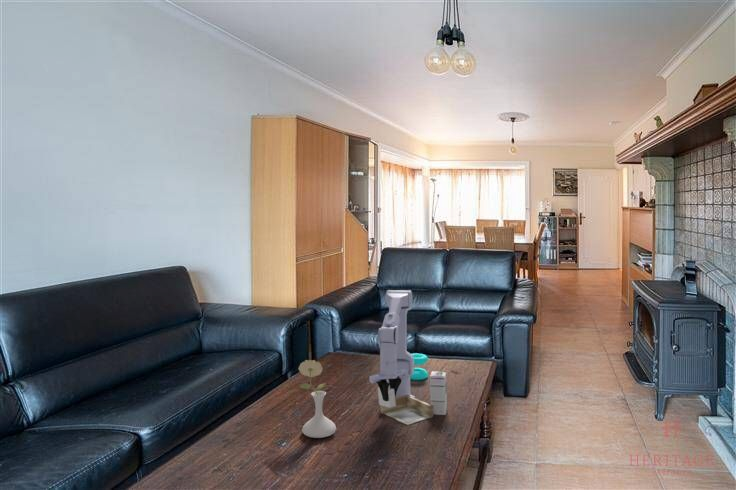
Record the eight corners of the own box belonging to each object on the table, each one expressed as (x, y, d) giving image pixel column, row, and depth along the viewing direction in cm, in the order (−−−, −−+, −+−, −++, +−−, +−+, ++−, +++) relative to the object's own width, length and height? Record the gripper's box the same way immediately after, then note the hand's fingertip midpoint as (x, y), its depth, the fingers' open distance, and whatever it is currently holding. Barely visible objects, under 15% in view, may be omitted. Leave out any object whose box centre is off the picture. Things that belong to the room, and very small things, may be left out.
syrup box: (446, 415, 177) (446, 376, 177) (429, 414, 179) (429, 375, 178) (447, 409, 183) (446, 371, 182) (431, 408, 184) (431, 370, 184)
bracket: (379, 404, 173) (377, 387, 174) (390, 402, 176) (389, 385, 176) (389, 407, 167) (387, 389, 168) (401, 404, 170) (399, 387, 170)
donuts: (420, 359, 214) (401, 356, 220) (421, 382, 214) (401, 378, 220) (431, 354, 222) (412, 351, 228) (431, 376, 222) (413, 372, 228)
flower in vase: (341, 429, 167) (340, 357, 166) (328, 443, 156) (326, 366, 155) (307, 424, 171) (305, 354, 170) (291, 438, 160) (290, 363, 159)
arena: (380, 413, 180) (380, 402, 180) (406, 404, 188) (406, 394, 188) (406, 426, 169) (406, 414, 169) (433, 416, 176) (433, 405, 176)
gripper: (376, 367, 162) (377, 407, 163) (412, 360, 169) (412, 398, 170) (366, 362, 168) (366, 400, 169) (400, 355, 175) (401, 392, 176)
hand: (388, 399), depth 170 cm, fingers closed on bracket, 2 cm apart
